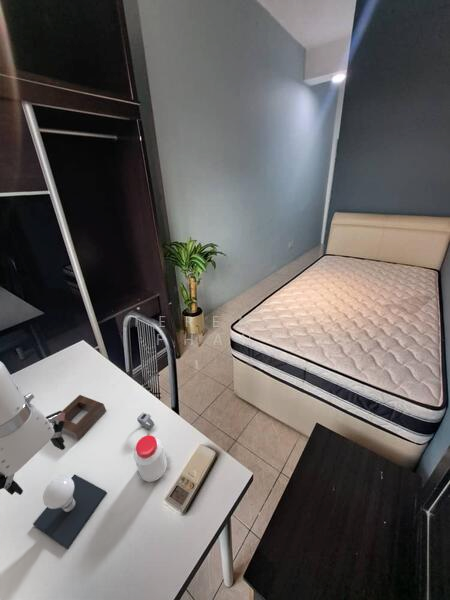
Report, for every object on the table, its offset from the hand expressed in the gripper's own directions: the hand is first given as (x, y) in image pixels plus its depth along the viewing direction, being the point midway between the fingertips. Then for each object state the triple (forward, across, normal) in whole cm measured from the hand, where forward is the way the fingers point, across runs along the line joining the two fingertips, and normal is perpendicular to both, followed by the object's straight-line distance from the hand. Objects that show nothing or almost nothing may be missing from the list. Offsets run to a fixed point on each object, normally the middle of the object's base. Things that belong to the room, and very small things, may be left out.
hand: (40, 467), depth 55 cm
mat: (+19, 0, +1) cm, 19 cm away
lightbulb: (+19, 0, +1) cm, 19 cm away
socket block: (+20, -20, -19) cm, 34 cm away
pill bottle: (+19, -16, +15) cm, 29 cm away
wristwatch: (+19, -26, +5) cm, 33 cm away
